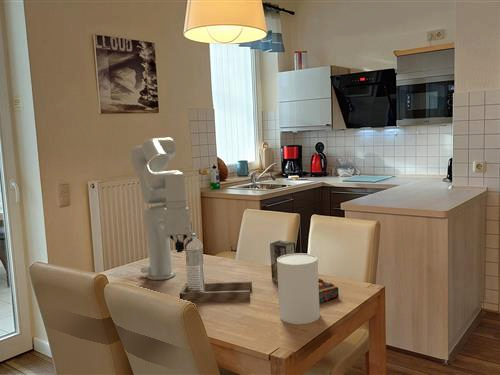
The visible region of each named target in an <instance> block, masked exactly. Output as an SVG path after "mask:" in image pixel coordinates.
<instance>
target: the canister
mask: <svg viewBox="0 0 500 375" xmlns="http://www.w3.org/2000/svg"><path fill="white" fill-rule="evenodd" d="M277 271H278V282H277V286H278V287H277V288H278V290H277V291H278V306H279V307H278V308H279V309H278V310H279V318H280V320H281V321H283V322H285V323H288V324H293V325H303V324H311V323H314V322H316V321H318V320H319V319H320V317H321V316H320V305H319V284H318V279H319V262H318V257H317V256H316V255H314V254H310V253H303V252H302V253H301V252H299V253H297V252H296V253H295V254H287V255H283V256H280V257H278V258H277Z"/></svg>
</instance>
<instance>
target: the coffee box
mask: <svg viewBox="0 0 500 375" xmlns="http://www.w3.org/2000/svg"><path fill="white" fill-rule="evenodd" d="M269 252H270V253H269V254H270V266H271V267H270V268H271V270H270V271H271V281H272V282H277V283H278V271H277V258H278V257H280V256H283V255H287V254H295V253H297V250H296V242H292V241H285V240H276V241H274V242H271V243H269Z"/></svg>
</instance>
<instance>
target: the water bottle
mask: <svg viewBox="0 0 500 375" xmlns="http://www.w3.org/2000/svg"><path fill="white" fill-rule="evenodd" d="M192 233H193V234H191V237H190V238H188V240H186V242H185V243H184V250H185V261H186V264H185V267H186V268H185V269H186V278H187V279H186V280H187V281H186V283H187V284H188V292H206V289H205V283H206V278H205V277H206V276H205V263H204V253H203V252H204V251H203V249H204V248H203V245H204V244H203V243H202V242H203V241H201V240H200V239H199V238H197V237H196V233H195V232H192Z"/></svg>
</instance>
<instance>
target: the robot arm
mask: <svg viewBox="0 0 500 375" xmlns="http://www.w3.org/2000/svg"><path fill="white" fill-rule="evenodd" d="M176 154H177V145H176V142H175V140H174V139H173V138H172V137H153V138H152V137H151V138H148V139H145V140H144V141H143V142H142V144H141V145H137V146H134V147H132V149H131V150H130V152H129V158H130V162H131V167H132V169H133V170H134V172H135V174H136V176H137V177H138V181H139V185H140V186H139V187H140V192H141V196H142V200H143V202H144V204H145V205H147V206H150V207H148V208H146V209H145V210H144V212H143V213H142V214H143V215H142V216H143V221H144V225H145V231H146V236H147V248H148V259H149V260H148V261H149V266H147V267H140V272H142V273H143V274H145V273H147V274H146V278H147V279H149V280H152V281H161V280H162V281H163V280H168V279H171V278H173V277H175V276H176V271H175V270H174V269H172V268H173V267H172V257H171V256H172V255H171V254H172V253H171V244H170V239H171V240H172V241H173V243H174V245H175V251H176V253H178V254H179V253H183V252H184V250H185V243H184V241H185V240H186V239H187V238H189V237H190V238H191V234H193V233H194V232H193V226H192V218H191V213H190V209H189V206H187V194H186V193H187V192H186V181H185V178H186V177H185V174H184V173H183V172H181V171H180V170H177V169H174V170H165V169H167V167H168V166H169V163H170V160H172V159H173V158H174V157H175V155H176Z"/></svg>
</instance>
